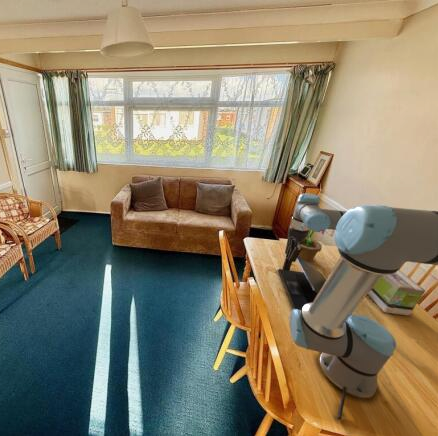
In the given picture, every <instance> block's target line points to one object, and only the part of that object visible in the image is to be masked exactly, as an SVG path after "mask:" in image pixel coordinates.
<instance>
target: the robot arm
mask: <svg viewBox="0 0 438 436" xmlns="http://www.w3.org/2000/svg"><path fill="white" fill-rule="evenodd" d="M320 203H321V197H320V196H318V195H317V194H314V193H307V192H306V193H301V194H300V195H299V196H298V199H297V201H296V203H295V208H294V211H293V215H292V217H291V220H290V224H289V227H288V231H287V242H286V246H285V251H284V255H285V258H284V262H283V265H282V268H281V269H283V270H286V271H289V270H291V267H292V264H293V263H295V262H296V261H297V260H296V259H297V257H298V255H299V254H300V252H301V251H302V249H303V248H300V245H301V243H302V239H305V238H308V237H309V234H310V233H309V232H310V231H311V230H312V231H314V232H316V233H321V232H320V231H324V232H325V231H326V230H334V231H335V232H334V236H333V238H334V244H335V246H336V248H337V251H338V254H339V255H340V257H339V258H338V260H337V262H336V264H334V266H333V268H332V270H331V272H330V273H329V274H328V277H327V278H326V282H325V283H324V285H323V287H322V288H321V290H320V292H319V293H318V295H317V297H316V298H315V300H314V302H313V303H308V304H306V305H305V306H304V307H303V309H302V310H298V309H293V308H292V309H291V310H290V313H289V330H290V337H291V339H292V342H293V343H294V345H296V347H299V348H303V349H305V350H307V351H308V350H309V351H313V352H318V353H321V354H320V356H319V359H318V364H319V367H320V369H321V372H322V373H323V375H324V376H325V378H326V379H327V380H328V381H329V383H331V384H332V385H333V386H334V387H336V388H337V389H339V390H340V391H341V392H342V394H341V399H340V403H339V409H338V413H337V419H338V420H340V421H341V420H342V414H343V410H344V404H345V399H346V396H347V395H349V396H352V397H354V398H357V399H370V398H372V397H373V396H374V395H375V394H376V392H377V389H378V374H379V373H380V372H381V370H382V368H383V367H384V366H385V365H386V363H387V362H388V361H389V359H390V358H391V357H392V356H393V355H394V352H395V350H396V348H397V342H396V339H395V337H394V335H393V334H392V333H391V332H390V331H389V330H388V329H387V328H386V327H385V326H384V325H382V324H380V322H378V321H376V320H374V319H372V318H370V317H368V316H365V315H362V314H359V313H357V314H353V313H354V312H355V311H356V309H357V308H358V307H359V305H360V304H361V303H362V302H363V300H364V299H365V298H366V296H368V293H369V291H370V290H371V289H372V288H373V287H374V285H375V284H376V283H377V282H378V280H379V279H380V278H381V277H382V275H390V274H394V273H396V272H397V271H398V270H400V269H401V268H402V267H403V265H404V264H405V263H407V262H408V263H415V264H423V265H432V266H438V210H425V209H414V208H403V207H394V206H393V207H392V206H388V205H381V204H376V205H365V204H364V205H358V206H354V207H351V208H350V209H349V210H337V209H328V208H321V207H320V206H319V205H320ZM349 316H350V317H349ZM347 319H348V320H347ZM346 394H347V395H346Z"/></svg>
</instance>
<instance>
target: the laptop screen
mask: <svg viewBox="0 0 438 436" xmlns="http://www.w3.org/2000/svg"><path fill="white" fill-rule="evenodd" d="M296 261H297V263H298V265H299V266H300V269H301V272H304V274H305V276H306V278H307V280H308V282H309V283H310V285H311V287H312V289H313V291H315V292H316V293H317V294H318V293H319V292H320V290H321V288H322V287H323V285H324V283H325V282H326V280H327V278H326V277H325V275H324V274H323V273H322V272H321V271H319V270H318V269H317V268H316V267H314V266H313V265H312V264H310V262H307V261H305V260H304V259H303V258H301V257H300V256H299V255H298V257H297V259H296ZM350 316H351V315H350ZM350 316H349V317H350Z"/></svg>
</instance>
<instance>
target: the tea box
mask: <svg viewBox="0 0 438 436" xmlns="http://www.w3.org/2000/svg"><path fill="white" fill-rule="evenodd" d="M425 292H426V289H424V288H423V287H422V286H420V285H419V284H417V282H415V281H414V280H412V278H410V277H409V276H408V275H406V274H405V273H404V272H402V271H401V270H400V269H399V270H398V271H397V272H396V273H394V274H390V275H382V277H381V278H380V279H379V280H378V282H377V283H376V284H375V285H374V287H373V288H372V289H371V290H370V291H369V293H368V294H367V296H369V297H370V298H371V299H372V301H373V302H374V303H375V304H376V305H377V306H378V307H379V308H380V309H381V310H382V311H383V312H384V313H388V314H394V315H402V316H410V314H411V313H412V312H413V310H414V309H415V307H416V306H417V304H418V303H419V302H420V300H421V298H422V297H423V296H424V295H425Z"/></svg>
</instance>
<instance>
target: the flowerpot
mask: <svg viewBox="0 0 438 436" xmlns="http://www.w3.org/2000/svg"><path fill="white" fill-rule="evenodd" d="M314 232H315V231H312V230H310V233H309V235H308V237H307V238H305V239H302V243H301V245H300V248H303V249H302V251H301V252H300V254H299V256H300V257H301V258H303V259H304V260H305V261H307V262H308V263H310V262H313V260H314V259H315V257H316V255H317V254H318V253H319V252H321V251H322V248H323V246H322V244H321V243H320V242H319V241H317V240H316V239H312V235H313V234H314ZM319 233H321V235H324V234H325V230H324V231H320V232H319Z"/></svg>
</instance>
